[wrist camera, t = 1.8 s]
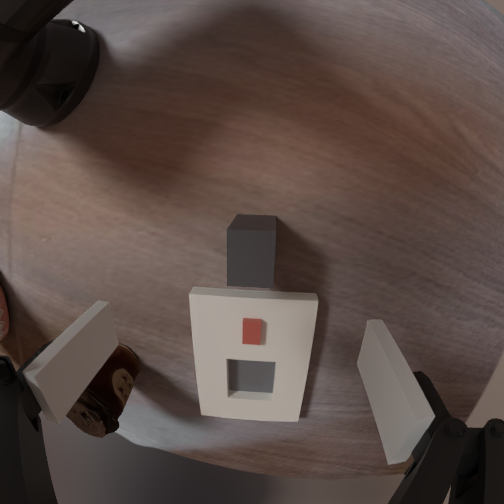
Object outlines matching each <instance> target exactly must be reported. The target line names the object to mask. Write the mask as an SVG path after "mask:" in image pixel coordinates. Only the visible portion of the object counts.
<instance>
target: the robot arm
mask: <svg viewBox="0 0 504 504" xmlns="http://www.w3.org/2000/svg"><path fill="white" fill-rule="evenodd" d="M73 1H74V0H0V111H3V112H5V113H7V114H9V115H10V116H12V117H14V118H15V119H17V120H19V121H21V122H22V123H24V124H26V125H30V126H49V125H53V124H55V123H57V122H59V121H61V120H62V119H64V118H65V117H66V116H67V115H69V114H70V113H71V112H72V111H73V110H74V109H75V107H76V106H77V105H78V104H79V103H80V101H81V100H82V98H83V97H84V95H85V94H86V92H87V90H88V88H89V86H90V84H91V82H92V80H93V77H94V75H95V72H96V69H97V65H98V59H99V43H98V39H97V36H96V34H95V33H94V31H93V30H92V29H91V28H89V27H88V26H86V25H84V24H83V23H81V22H79V21H75V20H67V19H53V18H54V17H55V16H56V15H57V14H59V13H60V12H61V11H62V10H63V9H64V8H65V7H67V6H68V5H69V4H70V3H71V2H73ZM117 346H118V340H117V336H116V332H115V327H114V322H113V317H112V312H111V307H110V302H105V301H99V300H98V301H97V302H96V303H95V304H94V305H92V306H91V307H90V308H89V309H88V310H87V311H86V312H85V313H83V314H82V315H81V316H80V317H79V318H78V319H77V320H76V321H75V322H73V323H72V324H71V325H70V326H69V327H68V328H67V329H66V330H65V331H64V332H63V333H62V334H60V335H59V336H58V337H57V338H56V339H55V340H54V341H51V342H49V343H47V344H45V345H43V346H42V347H41V348H40V349H39V350H38V352H36V353H35V354H34V355H33V357H31V358H30V359H29V360H28V361H27V362H26V363H25V364H24V365H23V366H22V367H21V368H20V369H19V370H18V371H17V372H16V371H15V368H14V366H13V364H12V362H11V359H10V358H9V357H7V356H0V504H58V503H57V499H56V496H55V492H54V488H53V484H52V480H51V476H50V472H49V467H48V462H47V457H46V452H45V446H44V440H43V433H42V425H41V419H40V417H39V415H38V414H39V413H40V411H41V410H42V411H43V413H44V415H45V417H46V418H47V419H48V420H50V421H52V422H54V423H56V424H60V423H61V422H62V420H63V419H64V417H65V416H66V415H67V413H68V412H69V410H70V409H71V408H72V406H73V405H74V403H75V402H76V401H77V399H78V398H79V397H80V395H81V394H82V392H83V391H84V390H85V388H86V387H87V386H88V384H89V383H90V382H91V380H92V379H93V378H94V376H95V375H96V374H97V372H98V371H99V370H100V368H101V367H102V366H103V364H104V363H105V362H106V360H107V359H108V358H109V357H110V355H111V354H112V353H113V351H114V350H115V349H116V348H117ZM357 366H358V369H359V372H360V375H361V378H362V381H363V384H364V387H365V390H366V393H367V396H368V399H369V402H370V405H371V408H372V412H373V415H374V418H375V421H376V424H377V428H378V431H379V434H380V438H381V441H382V445H383V448H384V452H385V455H386V459H387V462H388V465H390V464H395V463H401V462H406V460H407V459H408V458H409V456H410V455H411V453H412V455H413V458H414V462H413V463H412V464H411V465H410V467H409V468H408V469H407V471H406V472H405V473H404V474H405V477H404V479H403V480H402V482H401V484H400V485H399V487H398V489H397V490H396V492H395V493H394V495H393V496H392V498H391V500H390V501H389V503H388V504H443V502H444V500H445V498H446V495H447V493H448V491H449V488H450V486H451V491H450V497H449V503H448V504H504V421H503V420H501V419H496V418H495V419H491V420H489V421H488V422H487V423H486V425H485V426H484V427H483V428H468V427H467V425H466V424H465V423H464V422H463V421H461V420H459V419H458V418H453V417H451V416H450V414H449V412H448V411H447V409H446V407H445V405H444V403H443V401H442V400H441V398H440V396H439V394H437V391H436V389H435V388H434V386H433V384H432V382H431V380H430V379H429V378H428V377H427V376H426V375H425V374H424V373H422V372H421V371H418V372H412V371H411V369H410V367H409V365H408V364H407V362H406V360H405V358H404V356H403V355H402V353H401V351H400V349H399V348H398V346H397V344H396V342H395V341H394V339H393V337H392V336H391V334H390V332H389V331H388V329H387V327H386V326H385V324H384V322H383V321H382V320H368V321H367V325H366V330H365V334H364V338H363V342H362V346H361V350H360V354H359V357H358V361H357Z"/></svg>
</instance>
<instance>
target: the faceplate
mask: <svg viewBox="0 0 504 504" xmlns="http://www.w3.org/2000/svg"><path fill="white" fill-rule="evenodd" d="M189 300H190V314H191V327H192V338H193V349H194V359H195V368H196V377H197V386H198V394H199V402H200V409H201V415H206V416H214V417H223V418H233V419H245V420H261V421H288V422H298V419H299V415H300V410H301V405H302V400H303V395H304V389H305V384H306V378H307V373H308V367H309V361H310V355H311V349H312V343H313V336H314V330H315V323H316V316H317V308H318V297H317V294H316V293H304V292H279V291H258V290H240V289H223V288H208V287H193V288H192V290H191V292H190V293H189Z"/></svg>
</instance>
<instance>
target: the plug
mask: <svg viewBox="0 0 504 504" xmlns="http://www.w3.org/2000/svg"><path fill="white" fill-rule="evenodd" d="M275 249H276V216H268V215H242V214H237V216H236V217H235V219H234V220H233V221H232V223H231V224H230V226H229V227H228V229H227V286H241V287H260V288H273V286H274V268H275Z"/></svg>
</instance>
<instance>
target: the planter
mask: <svg viewBox="0 0 504 504" xmlns="http://www.w3.org/2000/svg"><path fill="white" fill-rule="evenodd" d="M8 330H9V315H8V309H7V303H6V299H5V295H4V292H3V289H2V286H1V284H0V340H2V339H3V338H4V337H5V336H6V335H7V333H8Z"/></svg>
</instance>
